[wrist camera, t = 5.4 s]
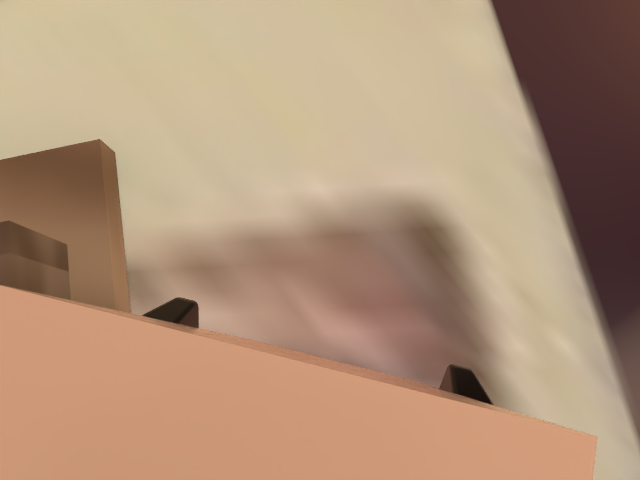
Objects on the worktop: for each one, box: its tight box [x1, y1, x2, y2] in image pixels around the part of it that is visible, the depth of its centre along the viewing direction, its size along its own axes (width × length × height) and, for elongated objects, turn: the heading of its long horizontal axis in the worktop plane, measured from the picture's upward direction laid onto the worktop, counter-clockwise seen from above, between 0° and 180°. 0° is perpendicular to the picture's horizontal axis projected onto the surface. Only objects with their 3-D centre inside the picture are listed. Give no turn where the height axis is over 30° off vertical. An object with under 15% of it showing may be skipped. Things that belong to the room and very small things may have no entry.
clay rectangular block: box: [0, 285, 597, 480], centre depth 10 cm, size 2×5×12 cm, turn 76°
